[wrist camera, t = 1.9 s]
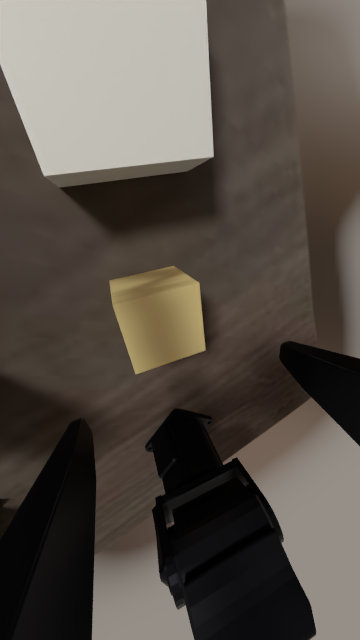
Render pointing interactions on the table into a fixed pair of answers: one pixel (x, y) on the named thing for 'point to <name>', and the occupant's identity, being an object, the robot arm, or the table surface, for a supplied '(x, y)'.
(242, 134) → the table surface
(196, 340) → the mustard cube
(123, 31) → the ivory block
